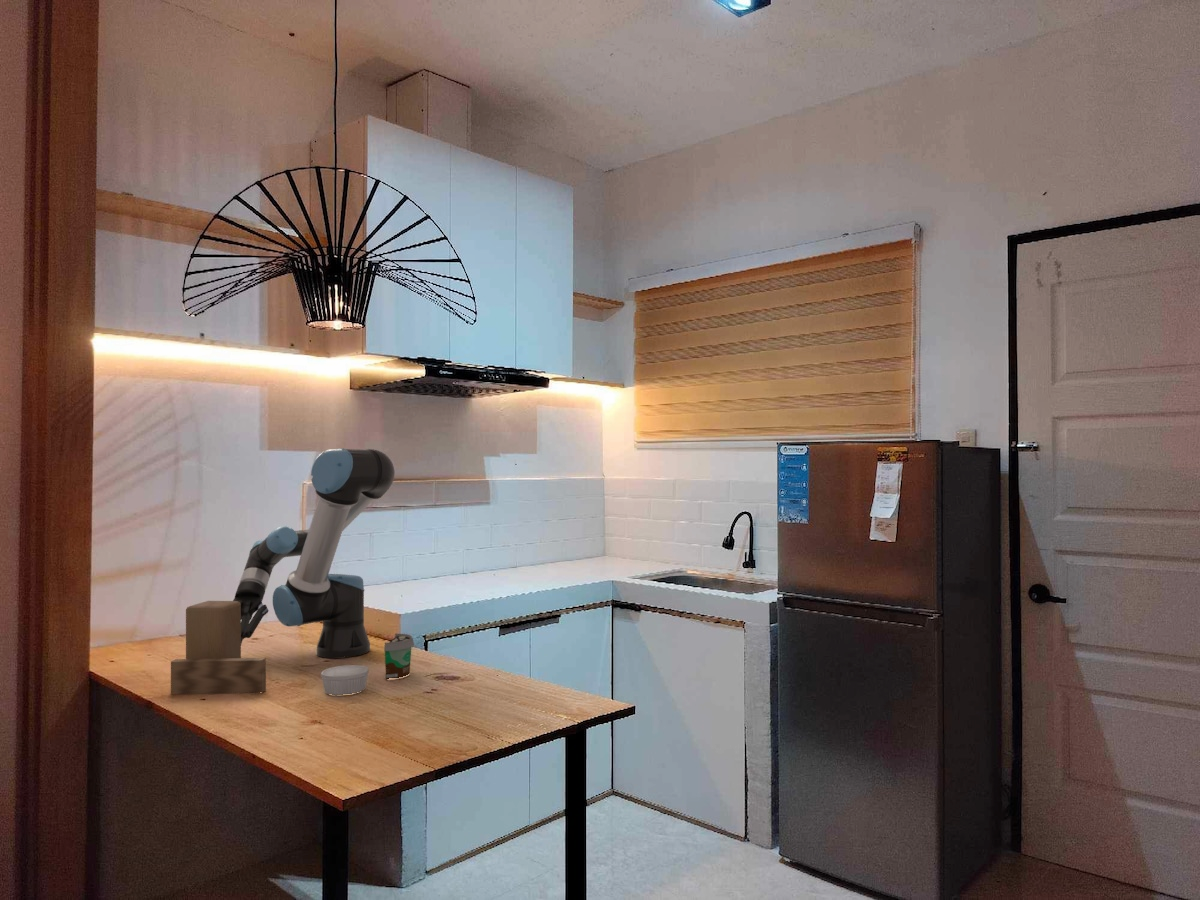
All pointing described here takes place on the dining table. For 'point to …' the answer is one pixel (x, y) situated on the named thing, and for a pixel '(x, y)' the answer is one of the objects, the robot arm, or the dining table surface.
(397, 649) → the food container
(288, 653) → the dining table surface
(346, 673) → the ramekin
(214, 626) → the block
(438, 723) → the dining table surface
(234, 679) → the board
